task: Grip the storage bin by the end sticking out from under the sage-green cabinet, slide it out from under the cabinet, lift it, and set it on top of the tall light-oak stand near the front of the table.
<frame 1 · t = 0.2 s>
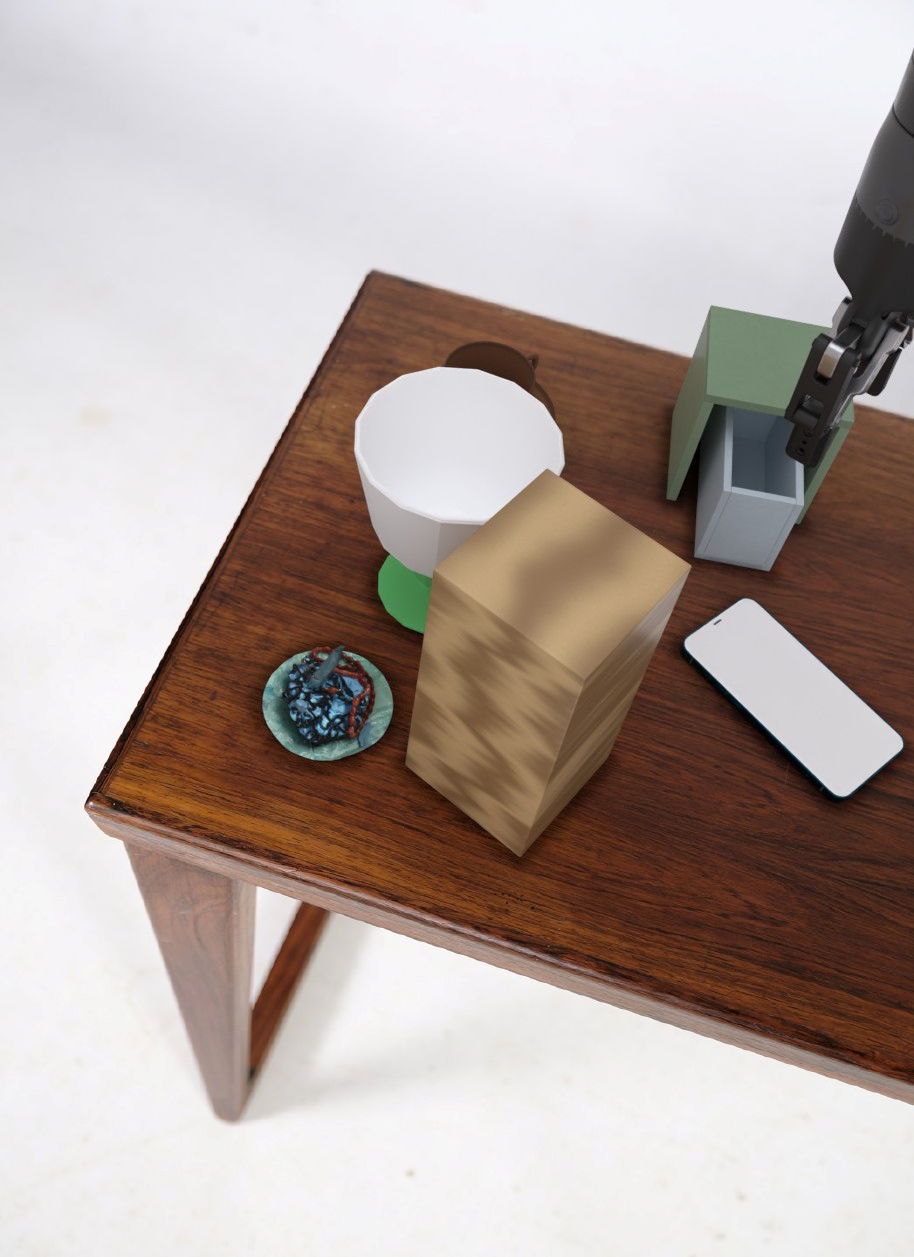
hand: (834, 422, 76), 19 cm above the table, tool pointing down, fingers open, 8 cm apart
cup: (437, 588, 90), on the table
bin: (733, 498, 98), on the table
dish: (328, 705, 83), on the table
stand: (507, 761, 82), on the table
smartphone: (787, 700, 87), on the table
cup and saucer: (480, 429, 99), on the table
cabinet: (734, 467, 100), on the table
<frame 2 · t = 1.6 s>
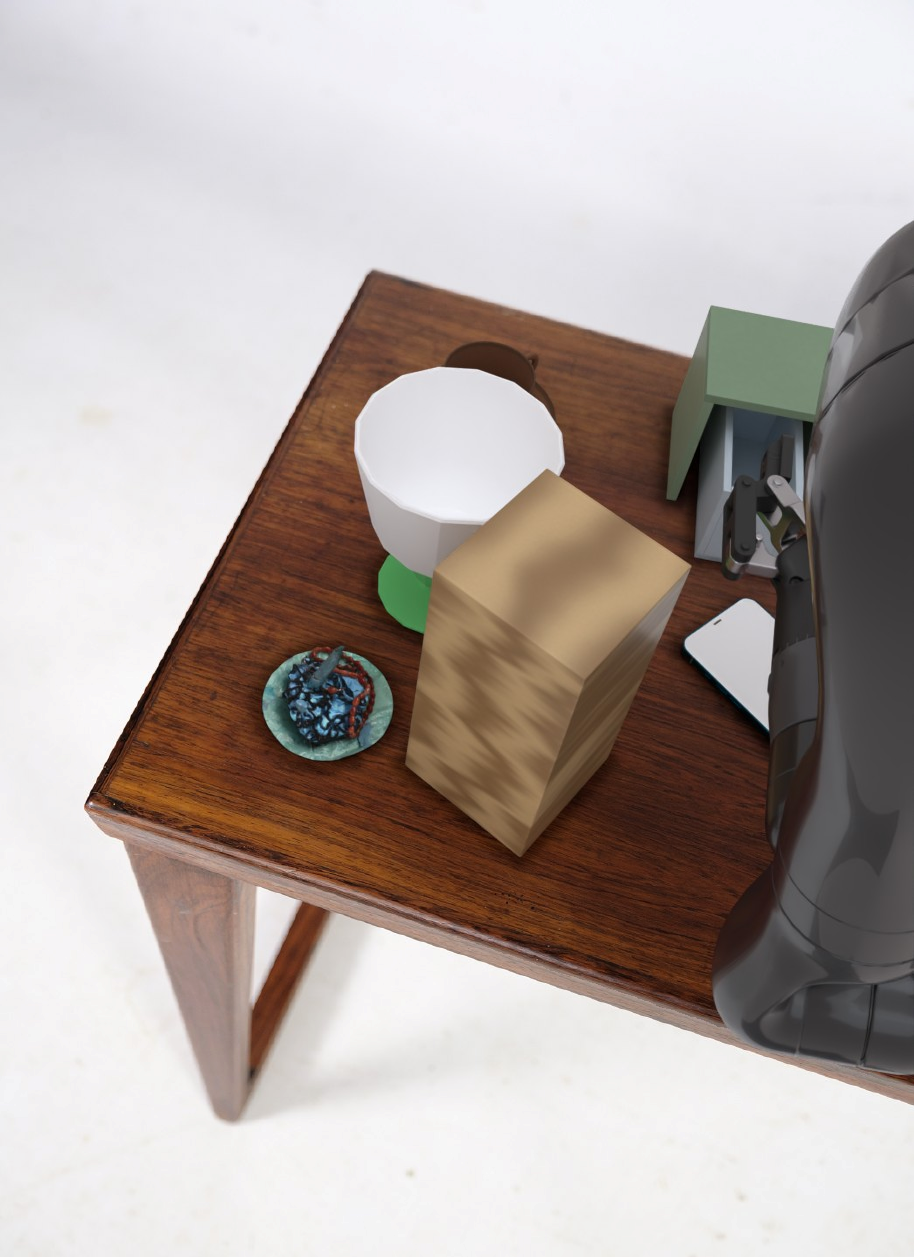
hand: (851, 461, 72), 21 cm above the table, tool horizontal, fingers open, 8 cm apart
nothing on the table moved.
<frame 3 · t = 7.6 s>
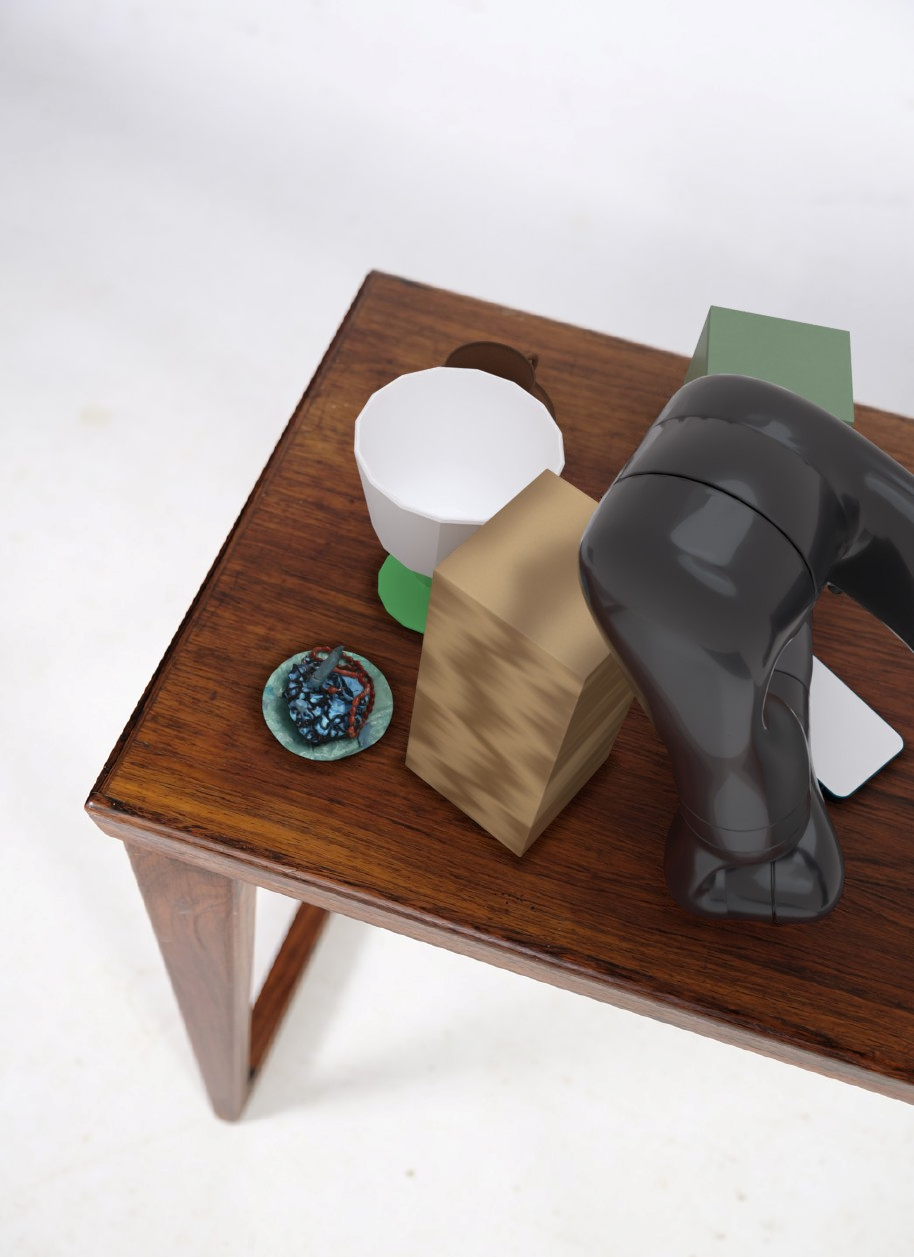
hand: (757, 463, 91), 6 cm above the table, tool horizontal, fingers closed on bin, 6 cm apart
bin: (733, 498, 98), on the table, touching gripper
everything else where it was.
when the fingers open (28 cm above the table, at t = 20.4 s): bin stays where it is, resting on stand.
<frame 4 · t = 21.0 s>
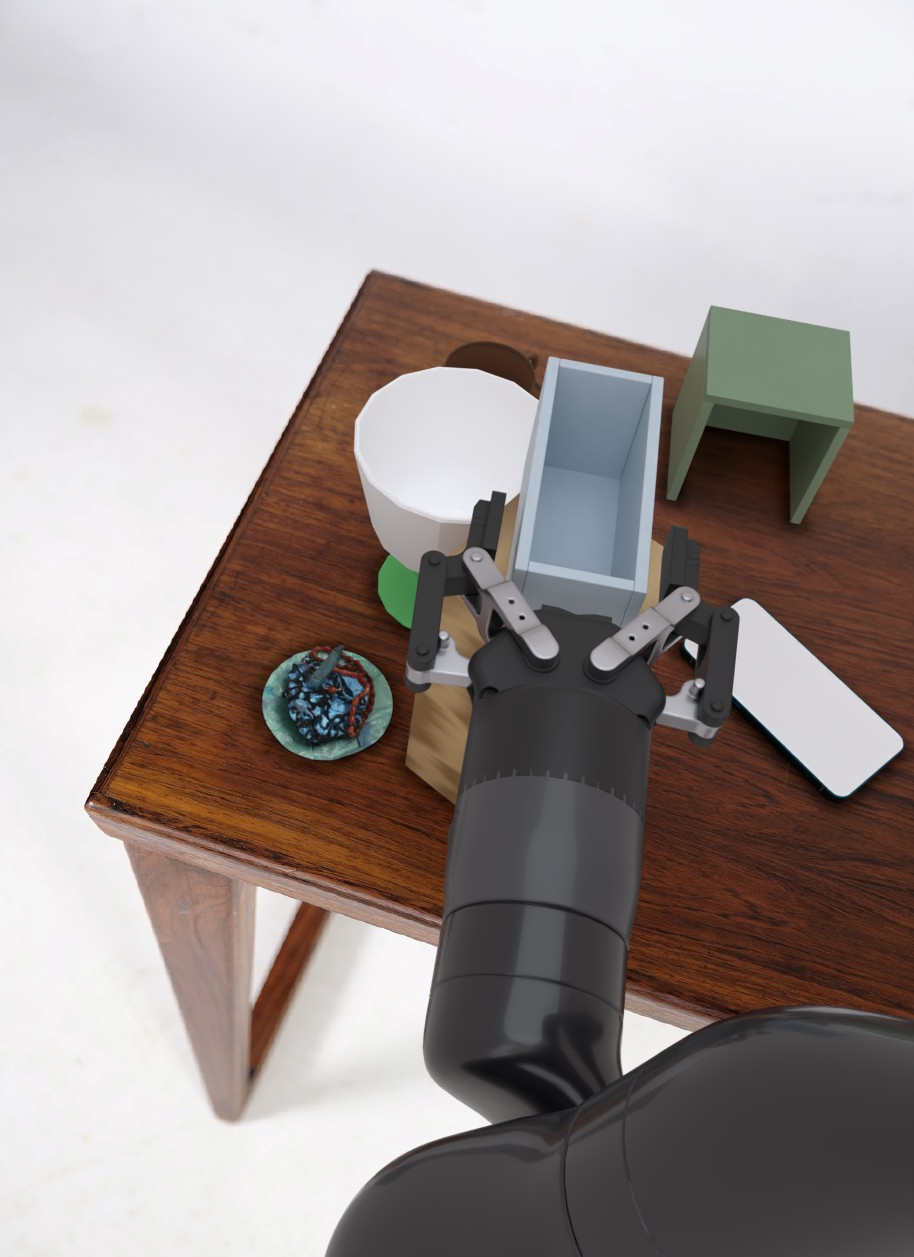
hand: (585, 519, 56), 29 cm above the table, tool horizontal, fingers open, 8 cm apart
bin: (564, 567, 64), point 22 cm above the table, touching stand
everything else where it was.
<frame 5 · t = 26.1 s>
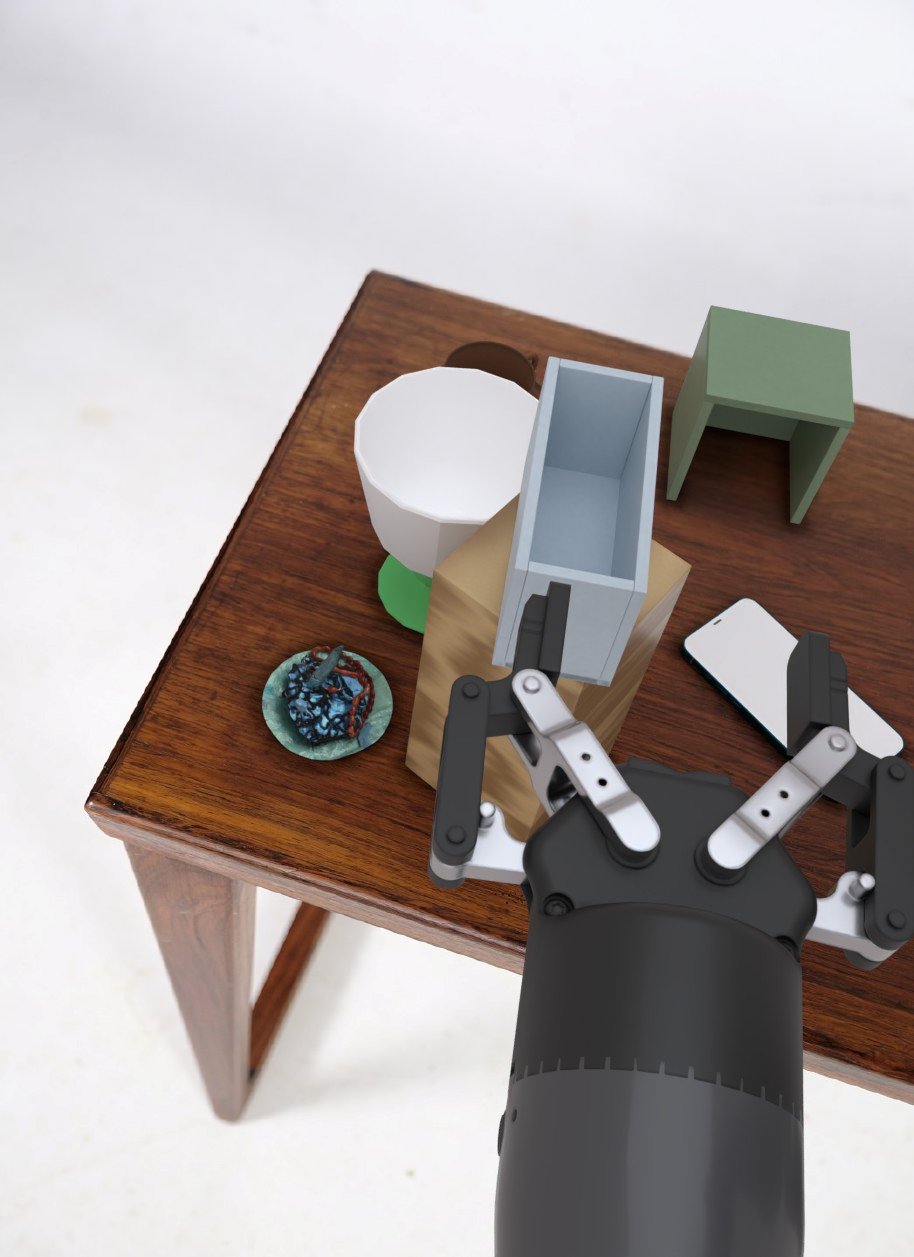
hand: (681, 620, 40), 40 cm above the table, tool horizontal, fingers open, 8 cm apart
nothing on the table moved.
at the end: bin inside the target area on the stand (0.0 cm from its centre), point 22.0 cm above the stand's base; bin tilted 0°; the gripper is holding nothing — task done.
